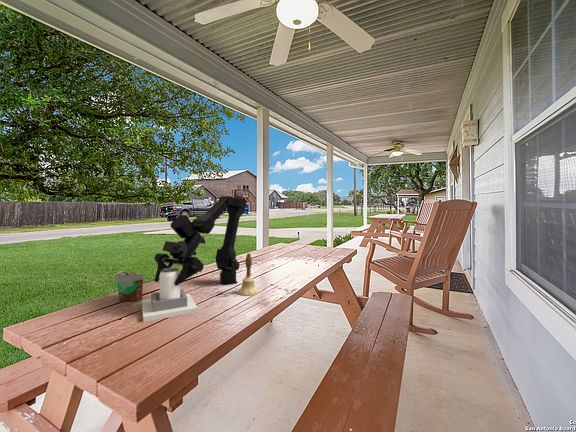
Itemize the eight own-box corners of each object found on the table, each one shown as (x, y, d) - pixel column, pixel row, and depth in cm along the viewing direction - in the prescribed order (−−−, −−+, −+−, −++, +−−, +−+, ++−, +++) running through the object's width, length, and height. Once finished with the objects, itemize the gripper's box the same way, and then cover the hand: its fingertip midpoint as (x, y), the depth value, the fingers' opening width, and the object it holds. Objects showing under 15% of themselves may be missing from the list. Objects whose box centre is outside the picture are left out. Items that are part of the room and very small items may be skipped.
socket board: (189, 297, 106) (189, 285, 105) (197, 312, 92) (197, 298, 92) (142, 304, 98) (141, 292, 98) (143, 322, 84) (143, 307, 84)
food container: (107, 299, 103) (107, 273, 102) (124, 294, 108) (123, 269, 108) (128, 305, 97) (127, 277, 96) (144, 300, 102) (144, 273, 102)
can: (168, 309, 90) (168, 273, 89) (155, 305, 93) (154, 270, 92) (184, 303, 96) (184, 268, 95) (171, 299, 99) (171, 266, 98)
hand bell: (260, 289, 116) (260, 251, 115) (256, 296, 108) (256, 255, 107) (240, 288, 117) (240, 251, 116) (235, 295, 108) (235, 255, 108)
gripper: (157, 231, 101) (130, 267, 91) (197, 233, 93) (172, 273, 84) (175, 249, 108) (151, 284, 99) (213, 253, 101) (191, 291, 91)
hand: (165, 283), depth 93 cm, fingers open, 9 cm apart
